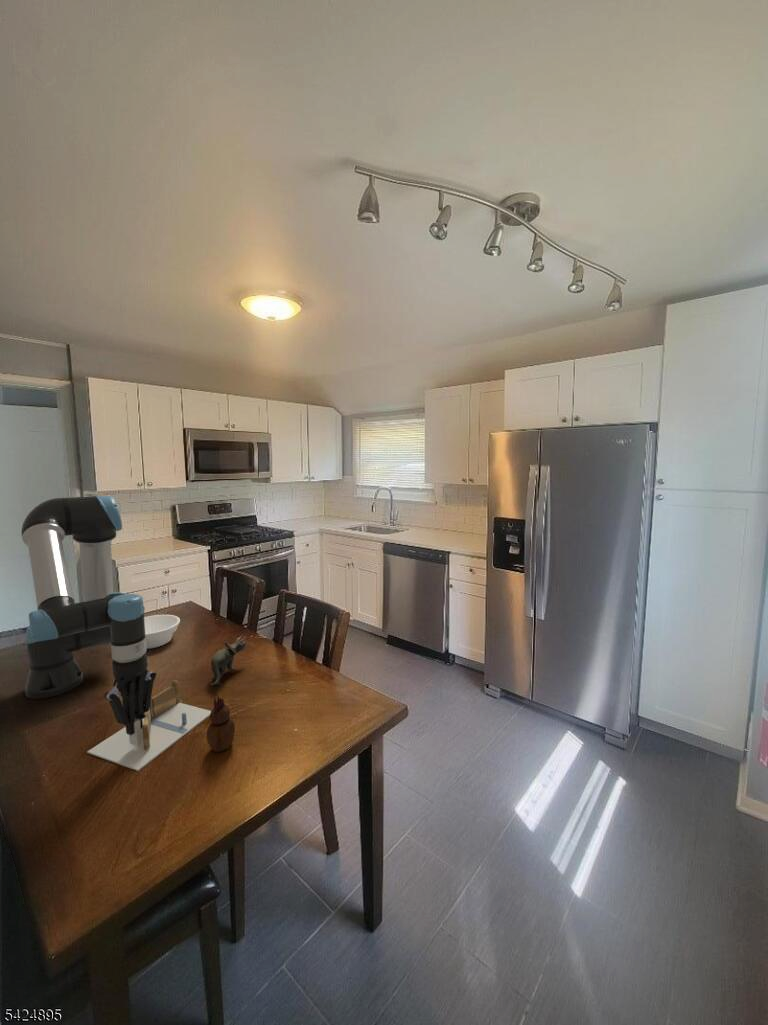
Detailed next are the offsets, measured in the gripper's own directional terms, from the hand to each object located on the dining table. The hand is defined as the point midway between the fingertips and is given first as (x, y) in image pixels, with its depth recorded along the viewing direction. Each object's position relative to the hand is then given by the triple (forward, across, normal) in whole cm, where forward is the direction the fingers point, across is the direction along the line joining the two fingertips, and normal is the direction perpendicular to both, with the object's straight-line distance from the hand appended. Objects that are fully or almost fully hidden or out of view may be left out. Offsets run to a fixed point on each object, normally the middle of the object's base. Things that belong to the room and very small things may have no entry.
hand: (135, 743), depth 109 cm
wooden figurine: (+2, +9, -20) cm, 22 cm away
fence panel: (+1, +5, +1) cm, 5 cm away
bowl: (+1, +48, +52) cm, 71 cm away
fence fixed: (+2, +15, +7) cm, 16 cm away
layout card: (+2, +7, +2) cm, 8 cm away
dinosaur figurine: (+2, +37, +6) cm, 37 cm away
